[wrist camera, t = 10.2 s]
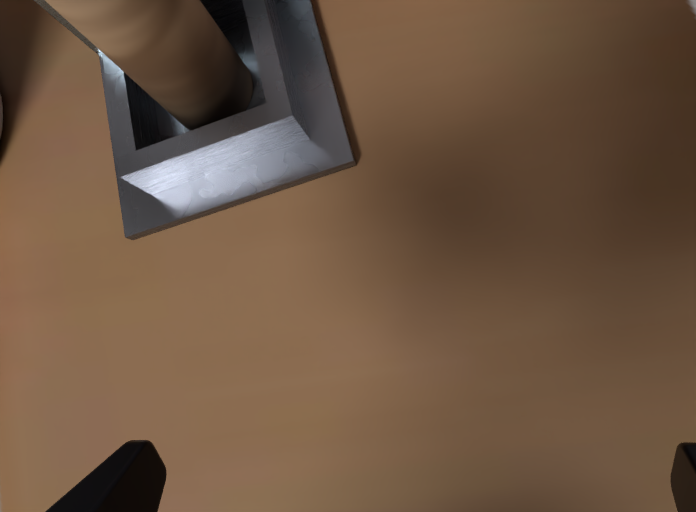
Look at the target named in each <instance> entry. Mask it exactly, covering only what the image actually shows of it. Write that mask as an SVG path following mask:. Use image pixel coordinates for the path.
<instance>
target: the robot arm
mask: <svg viewBox="0 0 696 512" xmlns="http://www.w3.org/2000/svg"><path fill="white" fill-rule="evenodd" d="M165 481H166V467H165V465H164V463H163V461H162V459H161V458H160V456H159V454H158V452H157V450H156V449H155V447H154V445H153V444H152V443H151V442H150V441H148V440H131V441H128V442H126V443H125V444H123V445H122V446H121V447H120V448H119V449H118V450H116V451H115V452H114V453H113V454H112V455H111V456H109V457H108V458H107V459H106V460H105V461H104V462H103V463H101V464H100V465H99V466H98V467H97V468H96V469H94V470H93V471H92V472H91V473H90V474H89V475H87V476H86V477H85V478H84V479H83V480H82V481H80V482H79V483H78V484H77V485H76V486H75V487H73V488H72V489H71V490H70V491H69V492H68V493H66V494H65V495H64V496H63V497H62V498H61V499H59V500H58V501H57V502H56V503H55V504H54V505H53V506H51V507H50V508H49V509H48V510H47V511H46V512H157V511H158V508H159V504H160V500H161V496H162V493H163V489H164V485H165ZM671 488H672V492H673V496H674V500H675V503H676V507H677V511H678V512H696V443H680V444H679V445H678V446H677V449H676V453H675V458H674V462H673V467H672V472H671Z"/></svg>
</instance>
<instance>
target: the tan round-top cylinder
mask: <svg viewBox="0 0 696 512" xmlns="http://www.w3.org/2000/svg"><path fill="white" fill-rule="evenodd" d="M45 1H46V2H47V3H48V4H49V5H50V6H52V7H53V8H54V9H55V10H56V11H57V12H58V13H59V14H60V15H62V16H63V17H64V18H65V19H66V20H67V21H68V22H69V23H70V24H71V25H73V26H74V27H75V28H76V29H77V30H78V31H79V32H80V33H81V34H83V35H84V36H85V37H86V38H87V39H88V40H89V41H90V42H91V43H92V44H94V45H95V46H96V47H97V48H98V49H99V50H100V51H101V52H102V53H104V54H105V55H106V56H107V57H108V58H109V59H110V60H111V61H112V62H113V63H115V64H116V65H117V66H118V67H119V68H120V69H121V70H122V71H123V72H125V73H126V74H127V75H128V76H129V77H130V78H131V79H132V80H133V81H134V82H136V83H137V84H138V85H139V86H140V87H141V88H142V89H143V90H144V91H146V92H147V93H148V94H149V95H150V96H151V97H152V98H153V99H154V100H155V101H157V102H158V103H159V104H160V105H161V106H162V107H163V108H164V109H165V110H166V111H168V112H169V113H170V114H171V115H172V116H173V117H174V118H175V119H176V120H178V121H179V122H180V123H181V124H182V125H183V126H184V127H186V128H187V129H189V130H194V129H197V128H200V127H202V126H205V125H208V124H211V123H213V122H216V121H219V120H222V119H224V118H227V117H230V116H233V115H235V114H238V113H241V112H243V111H245V110H246V108H247V107H248V105H249V102H250V100H251V97H252V92H253V81H252V76H251V74H250V71H249V70H248V68H247V66H246V65H245V64H244V62H243V61H242V59H241V58H240V56H239V55H238V54H237V52H236V51H235V49H234V48H233V47H232V45H231V44H230V42H229V41H228V39H227V38H226V37H225V35H224V34H223V32H222V31H221V30H220V28H219V27H218V25H217V24H216V22H215V21H214V20H213V18H212V17H211V15H210V14H209V13H208V11H207V10H206V8H205V7H204V5H203V4H202V3H201V1H200V0H45Z"/></svg>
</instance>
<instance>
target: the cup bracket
mask: <svg viewBox="0 0 696 512" xmlns="http://www.w3.org/2000/svg"><path fill="white" fill-rule="evenodd" d="M34 1H35V2H36V3H37V4H39V5H40V6H41V7H42V8H43V9H45V10H46V11H47V12H48V13H49V14H51V15H52V16H53V17H54V18H55V19H56V20H58V21H59V22H60V23H61V24H62V25H64V26H65V27H66V28H67V29H68V30H70V31H71V32H72V33H73V34H74V35H76V36H77V37H78V38H79V39H80V40H81V41H83V42H84V43H85V44H86V45H87V46H89V47H90V48H91V49H92V50H93V51H95V52H96V53H97V54H98V55H99V58H100V65H101V72H102V79H103V86H104V93H105V100H106V107H107V114H108V121H109V128H110V135H111V142H112V149H113V156H114V163H115V170H116V177H117V184H118V191H119V198H120V205H121V212H122V219H123V226H124V233H125V238H128V239H131V240H135V239H138V238H141V237H144V236H147V235H150V234H153V233H156V232H159V231H162V230H165V229H168V228H171V227H174V226H176V225H179V224H182V223H185V222H188V221H191V220H194V219H197V218H200V217H203V216H206V215H209V214H212V213H215V212H218V211H221V210H224V209H227V208H230V207H233V206H236V205H239V204H242V203H245V202H248V201H251V200H254V199H257V198H260V197H263V196H266V195H269V194H272V193H275V192H278V191H281V190H284V189H287V188H290V187H293V186H296V185H299V184H302V183H305V182H308V181H311V180H314V179H317V178H320V177H323V176H326V175H329V174H332V173H335V172H338V171H341V170H344V169H347V168H350V167H353V166H356V162H355V158H354V155H353V151H352V148H351V144H350V140H349V137H348V133H347V129H346V126H345V122H344V119H343V115H342V111H341V108H340V104H339V100H338V97H337V93H336V90H335V86H334V82H333V79H332V75H331V71H330V68H329V64H328V60H327V57H326V53H325V50H324V46H323V42H322V39H321V35H320V31H319V28H318V24H317V21H316V17H315V13H314V10H313V6H312V2H311V0H200V1H201V3H202V4H203V5H204V7H205V8H206V10H207V11H208V13H209V14H210V15H211V17H212V18H213V20H214V21H215V22H216V24H217V25H218V27H219V28H220V30H221V31H222V32H223V34H224V35H225V37H226V38H227V39H228V41H229V42H230V44H231V45H232V47H233V48H234V49H235V51H236V52H237V54H238V55H239V56H240V58H241V59H242V61H243V62H244V64H245V65H246V66H247V68H248V70H249V71H250V74H251V76H252V81H253V92H252V97H251V100H250V102H249V105H248V107H247V108H246V110H245V111H243V112H241V113H238V114H235V115H233V116H230V117H227V118H224V119H222V120H219V121H216V122H213V123H211V124H208V125H205V126H202V127H200V128H197V129H194V130H189V129H187V128H186V127H184V126H183V125H182V124H181V123H180V122H179V121H178V120H176V119H175V118H174V117H173V116H172V115H171V114H170V113H169V112H168V111H166V110H165V109H164V108H163V107H162V106H161V105H160V104H159V103H158V102H157V101H155V100H154V99H153V98H152V97H151V96H150V95H149V94H148V93H147V92H146V91H144V90H143V89H142V88H141V87H140V86H139V85H138V84H137V83H136V82H134V81H133V80H132V79H131V78H130V77H129V76H128V75H127V74H126V73H125V72H123V71H122V70H121V69H120V68H119V67H118V66H117V65H116V64H115V63H113V62H112V61H111V60H110V59H109V58H108V57H107V56H106V55H105V54H104V53H102V52H101V51H100V50H99V49H98V48H97V47H96V46H95V45H94V44H92V43H91V42H90V41H89V40H88V39H87V38H86V37H85V36H84V35H83V34H81V33H80V32H79V31H78V30H77V29H76V28H75V27H74V26H73V25H71V24H70V23H69V22H68V21H67V20H66V19H65V18H64V17H63V16H62V15H60V14H59V13H58V12H57V11H56V10H55V9H54V8H53V7H52V6H50V5H49V4H48V3H47V2H46V1H45V0H34Z"/></svg>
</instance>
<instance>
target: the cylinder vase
mask: <svg viewBox="0 0 696 512" xmlns="http://www.w3.org/2000/svg"><path fill="white" fill-rule="evenodd" d="M2 125H3V106H2V99H1V94H0V138H1V133H2Z"/></svg>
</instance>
